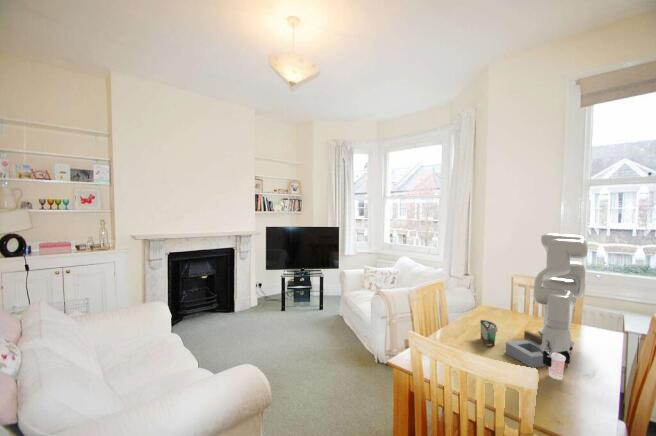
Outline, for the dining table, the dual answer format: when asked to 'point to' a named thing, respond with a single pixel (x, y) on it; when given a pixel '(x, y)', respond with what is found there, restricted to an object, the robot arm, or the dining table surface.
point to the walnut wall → (537, 340)
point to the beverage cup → (557, 366)
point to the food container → (488, 333)
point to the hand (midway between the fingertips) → (556, 363)
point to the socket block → (526, 352)
